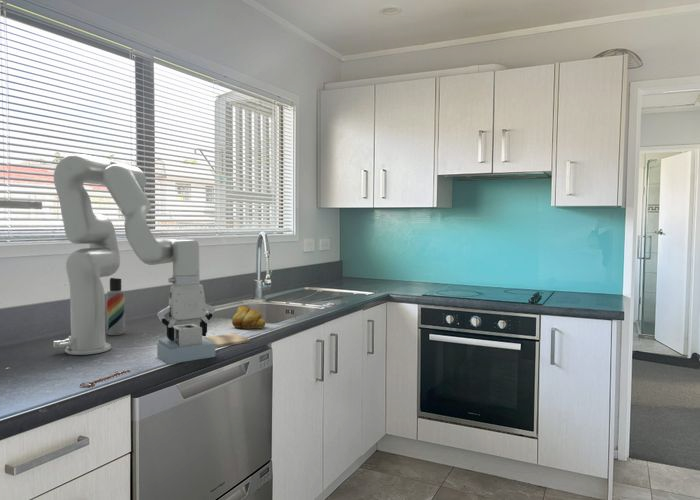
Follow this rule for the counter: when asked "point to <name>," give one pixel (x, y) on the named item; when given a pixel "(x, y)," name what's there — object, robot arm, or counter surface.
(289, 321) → the counter surface
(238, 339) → the cork mat
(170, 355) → the vise block
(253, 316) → the bread roll
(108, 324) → the lotion bottle
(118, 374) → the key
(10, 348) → the counter surface
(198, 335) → the grey block with hole
